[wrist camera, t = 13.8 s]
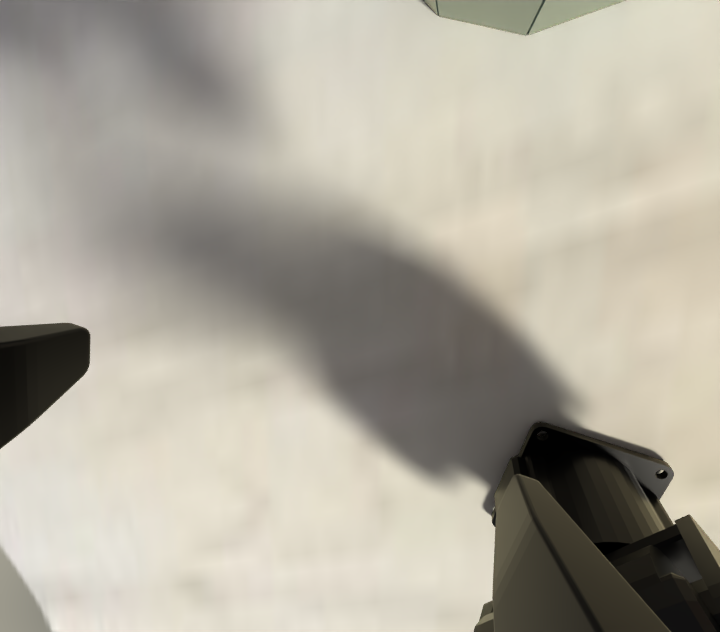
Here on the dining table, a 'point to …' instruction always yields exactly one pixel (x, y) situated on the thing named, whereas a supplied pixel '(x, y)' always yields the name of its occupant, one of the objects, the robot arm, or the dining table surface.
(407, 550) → the dining table surface
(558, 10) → the bowl
